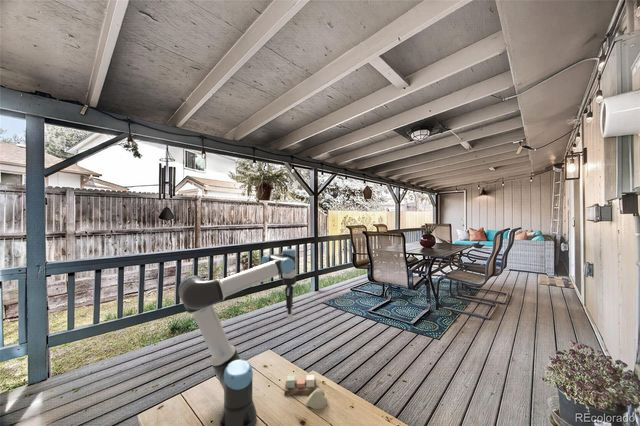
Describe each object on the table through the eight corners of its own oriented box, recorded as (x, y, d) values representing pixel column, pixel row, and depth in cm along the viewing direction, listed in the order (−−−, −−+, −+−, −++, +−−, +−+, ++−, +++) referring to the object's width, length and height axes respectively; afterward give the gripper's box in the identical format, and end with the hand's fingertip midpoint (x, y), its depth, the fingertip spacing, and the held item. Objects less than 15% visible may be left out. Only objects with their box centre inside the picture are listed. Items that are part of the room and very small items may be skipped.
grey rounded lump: (331, 402, 113) (318, 399, 109) (320, 415, 113) (307, 412, 110) (325, 385, 120) (313, 382, 116) (315, 397, 121) (303, 394, 117)
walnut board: (284, 395, 121) (284, 390, 121) (286, 384, 129) (286, 380, 129) (316, 393, 121) (316, 389, 121) (316, 383, 129) (316, 379, 129)
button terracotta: (296, 391, 123) (296, 383, 123) (297, 385, 127) (297, 378, 127) (304, 390, 123) (304, 383, 123) (304, 385, 127) (304, 378, 127)
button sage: (286, 387, 123) (286, 380, 123) (287, 382, 127) (287, 375, 127) (294, 387, 123) (294, 380, 123) (295, 382, 127) (295, 375, 127)
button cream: (306, 387, 123) (306, 379, 123) (306, 382, 127) (306, 375, 127) (314, 386, 123) (314, 379, 123) (314, 381, 127) (314, 374, 127)
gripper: (294, 279, 130) (295, 323, 130) (297, 274, 143) (297, 314, 143) (280, 279, 131) (281, 324, 130) (284, 274, 144) (285, 314, 143)
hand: (289, 319), depth 136 cm, fingers closed
